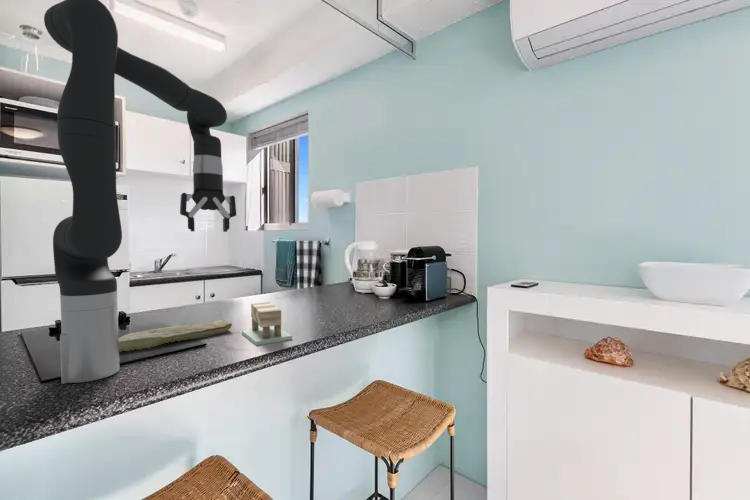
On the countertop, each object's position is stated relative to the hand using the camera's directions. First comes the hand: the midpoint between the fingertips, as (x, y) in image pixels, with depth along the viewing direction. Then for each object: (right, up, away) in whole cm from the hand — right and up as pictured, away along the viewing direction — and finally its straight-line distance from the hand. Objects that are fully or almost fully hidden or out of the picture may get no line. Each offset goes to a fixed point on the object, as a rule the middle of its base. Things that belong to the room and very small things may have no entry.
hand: (209, 231), depth 102 cm
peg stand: (+16, -30, +2) cm, 34 cm away
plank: (+15, -26, +2) cm, 30 cm away
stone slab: (-10, -31, 0) cm, 32 cm away
